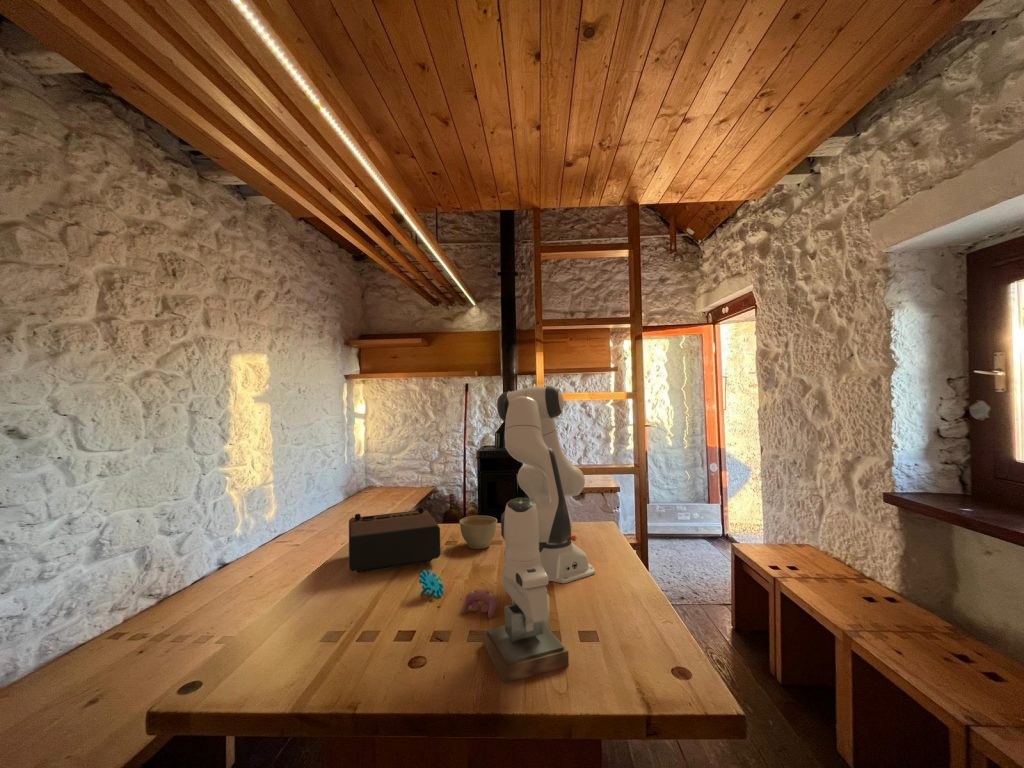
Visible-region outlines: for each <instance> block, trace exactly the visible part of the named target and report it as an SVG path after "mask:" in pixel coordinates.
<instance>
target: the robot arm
mask: <svg viewBox="0 0 1024 768" xmlns="http://www.w3.org/2000/svg"><path fill="white" fill-rule="evenodd" d="M564 399H565V398H564V396H563V393H562V392H561V389H560V388H558V387H557V386H555V385H547V386H530V387H527V388H521V389H520V388H519V389H516V390H512V391H510V390H508V391H505V392H503V393H501V394H500V395H499V397H498V398H497V403H496V409H497V414H498V416H499V418H500V419H501V420H502V422H505V423H504V424H505V425H504V444H505V449H506V451H507V453H508V454H509V456H511V457H512V458H513V459H514V460H516V461H517V462H519V463H522V464H523V465H522V466H521V467H520V468H519V470H518V473H517V477H516V479H517V484H518V486H519V488H520V489H521V490H522V491H523V492H524V493H525V494H526V495H527V497H516V498H512V499H509V500H508V501H507V503H506V505H505V510H504V511H503V513H502V514H501V516H500V530H501V531H500V536H501V537H502V538H503V540H504V542H505V549H504V553H503V554H504V557H503V558H504V564H503V569H502V571H503V573H502V574H503V577H502V584H503V585H502V586H503V590H504V591H505V592H506V594H507V595H508V596H509V597H510V598H511V601H512V605H513V604H517V605H518V607H519V608H520V609H521V610H522V612H523V613H524V614H525V617H526V621H525V622H524V628H525V629H526V631H527V632H529V631H532V630H533V623H539V622H543V621H545V619H546V617H547V594H548V589H547V585H548V584H549V582H556V583H559V584H567V583H570V582H573V581H576V580H579V579H582V578H586V577H589V576H592V575H594V574H596V570H595V567H594V566H593V564H591V563H589V560H588V556H587V554H586V553H585V551H584V550H582V549H581V548H579V547H578V546H577V545H576V544H574V543H573V542H576V541H577V536H576V535H575V534H573V533H572V531H573V521H572V517H571V513H570V511H569V509H568V506H567V502H566V497H567V498H568V497H575V496H579V495H580V494H581V493H582V492H583V490H584V488H585V481H586V479H585V476H584V472H583V471H582V470H581V469H580V468H579V467H577V466H576V465H574V464H573V462H572V461H570V460H569V458H568V457H567V456H566V454H565V452H564V451H563V449H562V447H561V444H560V438H559V435H558V430H557V425H556V421H555V418H557V417H559V416H560V415H562V413H563V411H564V406H565V400H564Z"/></svg>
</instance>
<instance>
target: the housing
mask: <svg viewBox="0 0 1024 768" xmlns="http://www.w3.org/2000/svg"><path fill="white" fill-rule="evenodd" d="M525 621H526V617H525V614H524V613H523V612H522V610H521V609H520V608H519V607H518V605H517V604H513V603H512V604H510V605H505V606H504V626H505V631H506V633H507V634H508V636H509V637H510V639H511V640H512V641H516V640H520V639H524V638H528V637H532V636H537V635H541V634H543V622H539V623H533V630H532V631H529V632H527V631H526V629H525V628H524V622H525Z"/></svg>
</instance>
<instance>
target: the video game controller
mask: <svg viewBox="0 0 1024 768" xmlns="http://www.w3.org/2000/svg"><path fill="white" fill-rule="evenodd" d="M479 602H483V603H482V605H481V606H480V603H479ZM497 602H498V599H497V596H496V595H495V594H493V593H491V592H489V591H487V590H484V589H483V590H482V589H476V590H471V591H469V592H468V593H467V595H466V596H465V598H464V601H463V604H462V607H461V614H462V615H465V614H466V613H467V612H468V611H469V608H470V607H471V610H472V611H473V612H477V611H479V610H480V607H481V611H482V612H483V613H484V614H485V613H487V617H488V619H491V618H493V617H494V614H495V610H496V605H497Z"/></svg>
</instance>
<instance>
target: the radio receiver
mask: <svg viewBox="0 0 1024 768" xmlns="http://www.w3.org/2000/svg"><path fill="white" fill-rule="evenodd" d="M440 556H441V527H440V526H439V524H438V522H437V520H436V519H434V517H433V516H432V515H431V514H430V513H429V510H427V509H424V506H419V507H418V510H409V511H408V510H407V511H403V512H402V511H400V512H392V513H382V514H375V515H364V516H361V513H356V514H355V515H354V517H351V518H349V520H348V567H349V570H350V571H351V572H356V573H359V574H360V573H363V574H364V573H367V572H372V571H378V570H379V571H381V570H386V569H393V568H397V567H398V568H399V567H405V566H411V565H417V564H426V563H431V562H432V561H433V560H435V559H438V558H439V557H440Z"/></svg>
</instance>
